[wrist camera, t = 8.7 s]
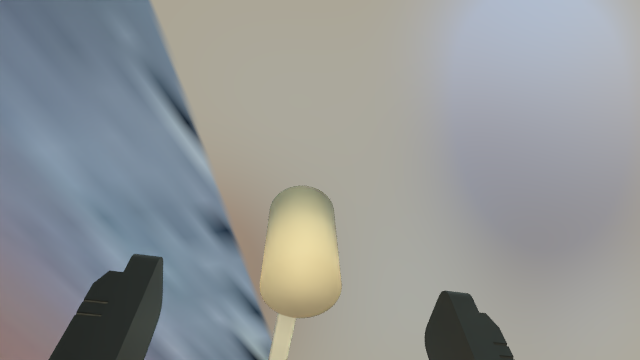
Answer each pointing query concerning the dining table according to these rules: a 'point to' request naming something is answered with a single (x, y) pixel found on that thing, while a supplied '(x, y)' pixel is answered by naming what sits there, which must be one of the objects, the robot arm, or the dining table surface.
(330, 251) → the peach block with knob
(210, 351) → the dining table surface
